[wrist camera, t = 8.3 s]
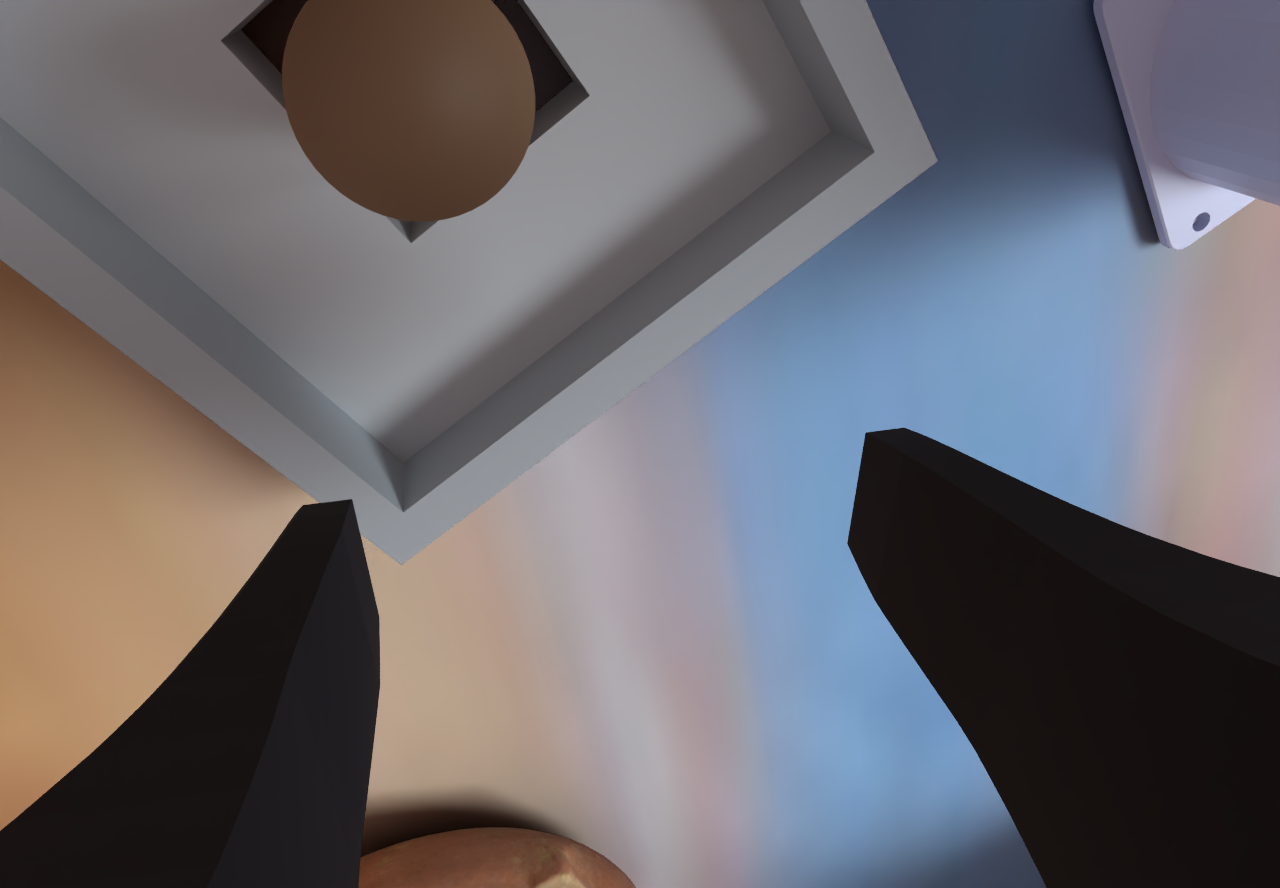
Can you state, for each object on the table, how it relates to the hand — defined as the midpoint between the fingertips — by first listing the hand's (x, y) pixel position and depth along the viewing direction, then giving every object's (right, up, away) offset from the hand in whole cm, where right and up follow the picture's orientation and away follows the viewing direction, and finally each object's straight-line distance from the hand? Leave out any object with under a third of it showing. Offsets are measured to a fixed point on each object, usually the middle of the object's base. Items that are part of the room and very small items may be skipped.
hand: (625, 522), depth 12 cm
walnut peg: (-4, +9, +5) cm, 11 cm away
